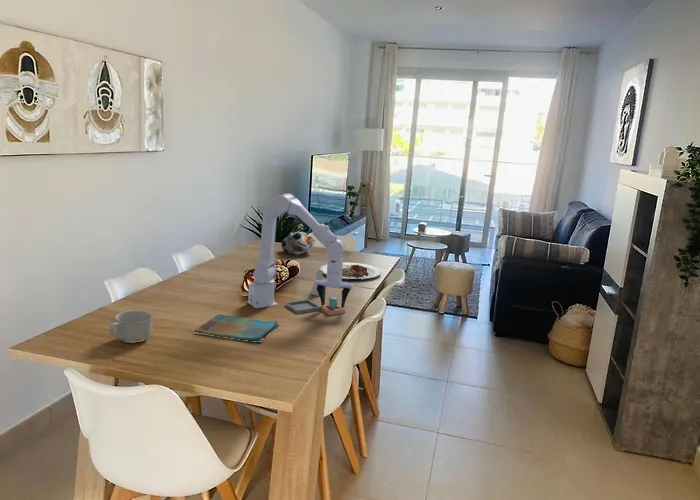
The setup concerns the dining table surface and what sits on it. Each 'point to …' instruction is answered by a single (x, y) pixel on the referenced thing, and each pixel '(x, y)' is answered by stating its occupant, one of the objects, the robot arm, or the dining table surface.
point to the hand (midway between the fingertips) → (332, 305)
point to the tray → (302, 306)
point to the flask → (318, 277)
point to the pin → (332, 303)
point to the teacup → (132, 325)
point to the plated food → (355, 270)
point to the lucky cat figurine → (297, 243)
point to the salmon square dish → (332, 312)
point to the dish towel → (237, 328)
